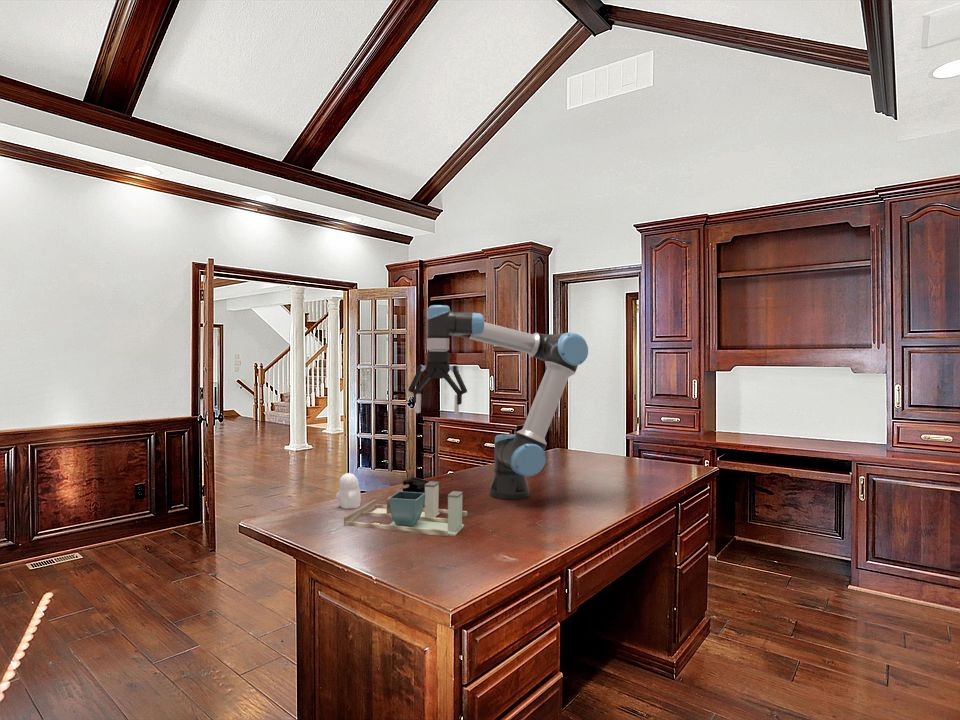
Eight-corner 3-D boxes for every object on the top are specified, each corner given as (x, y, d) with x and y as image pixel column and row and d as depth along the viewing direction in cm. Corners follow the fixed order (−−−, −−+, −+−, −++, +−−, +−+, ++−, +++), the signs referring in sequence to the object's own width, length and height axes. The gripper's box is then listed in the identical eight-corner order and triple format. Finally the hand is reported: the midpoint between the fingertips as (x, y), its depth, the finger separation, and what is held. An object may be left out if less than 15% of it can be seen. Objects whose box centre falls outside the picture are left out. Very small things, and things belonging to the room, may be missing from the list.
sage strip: (464, 526, 172) (464, 490, 172) (455, 535, 162) (455, 497, 162) (397, 520, 177) (397, 485, 177) (384, 529, 168) (385, 492, 168)
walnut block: (403, 511, 186) (404, 496, 186) (402, 515, 181) (402, 499, 181) (388, 510, 186) (389, 495, 186) (386, 515, 181) (386, 499, 181)
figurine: (334, 509, 189) (334, 473, 189) (349, 504, 196) (349, 469, 196) (350, 512, 186) (350, 476, 186) (365, 506, 193) (365, 472, 193)
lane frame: (467, 515, 183) (467, 506, 183) (447, 536, 162) (447, 526, 162) (374, 508, 191) (374, 499, 191) (343, 526, 170) (343, 516, 170)
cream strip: (440, 514, 184) (440, 481, 184) (432, 521, 176) (432, 486, 176) (377, 509, 189) (378, 476, 189) (367, 515, 182) (368, 481, 182)
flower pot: (416, 529, 166) (416, 499, 166) (388, 527, 168) (388, 497, 168) (425, 521, 175) (425, 492, 175) (398, 519, 176) (398, 491, 176)
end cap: (434, 498, 206) (434, 479, 206) (419, 501, 201) (419, 482, 201) (416, 493, 213) (417, 475, 213) (401, 496, 208) (402, 478, 208)
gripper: (476, 351, 191) (475, 413, 191) (407, 350, 196) (406, 411, 196) (470, 351, 183) (469, 415, 183) (399, 350, 189) (398, 413, 189)
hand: (437, 413), depth 190 cm, fingers open, 13 cm apart
